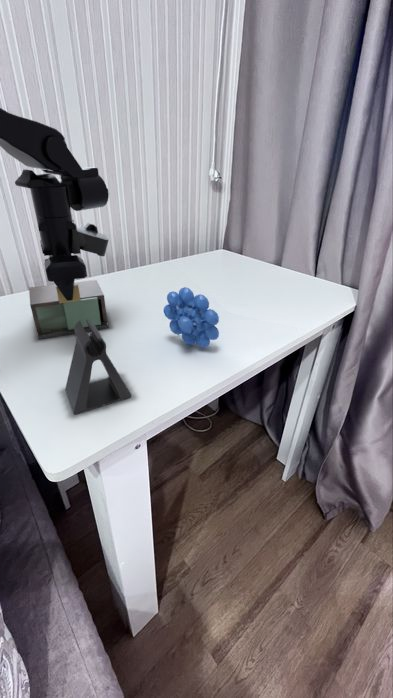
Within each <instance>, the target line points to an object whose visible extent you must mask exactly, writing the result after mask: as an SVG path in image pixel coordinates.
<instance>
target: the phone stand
mask: <svg viewBox="0 0 393 698" xmlns="http://www.w3.org/2000/svg"><path fill="white" fill-rule="evenodd" d="M86 322H87V324H88V326H89V327H90V329H91V331H90V333H89V334H88V332H86V331H85V329H84V327H83V325H82V324H81V322H80V321H79V322H77V323H76V325H75V327H74V332H75V334H74V335H75V343H74V349H73V354H72V358H71V361H70V367H69V371H68V375H67V378H66V379H67V380H66V384H65V388H64V391H65V394H66V396H67V399H68V402H69V405H70V408H71V411H72V413H73V415H75V416H76V415H79V414H83V413H85V412H89V411H93V410H95V409H97V408H98V409H99V408H102V407H103V406H108V405H111V404H114V403H118V402H120V401H124V400H127V399H130V398H132V393H131V391H130V389H129V388H128V386H127V385H126V383H125V381H124V379H123V378H122V375H120V373H119V371H118V370H117V368H116V367H115V364H114V363H113V361H112V360H111V359H110V357H109V356H108V354H107V344H106V342H105V340H104V338H103V337H102V335H101V333H100V331H99V330H97V329H96V327H95V325H94V324H93V322H91V321H90V320H86ZM96 361H100V362H101V364H102V366H103V368H104V370H105V372H106V374H107V376H108V377H107V378H103V379H100V380H97V381H93V382H91V376H92V370H93V364H94V362H96Z"/></svg>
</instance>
